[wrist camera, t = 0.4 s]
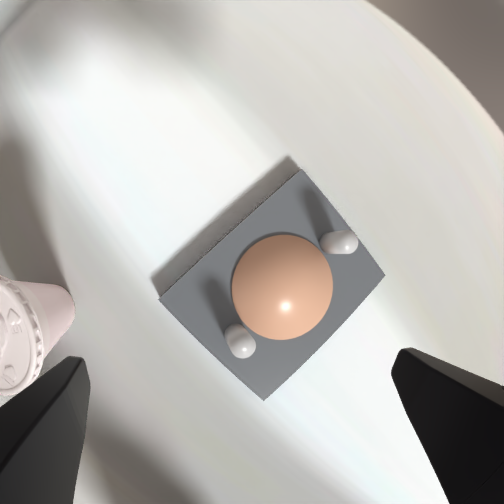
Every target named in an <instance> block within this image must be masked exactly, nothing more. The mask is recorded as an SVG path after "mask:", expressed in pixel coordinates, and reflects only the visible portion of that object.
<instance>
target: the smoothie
mask: <svg viewBox="0 0 504 504" xmlns="http://www.w3.org/2000/svg"><path fill="white" fill-rule="evenodd" d="M74 317H75V305H74V302H73V299H72V297H71V295H70V294H69V293H68V292H67V291H66V290H65V289H64V288H63V287H61V286H59V285H55V284H43V283H32V282H22V281H13V280H10V279H9V278H7V277H4V276H2V275H0V395H14V394H17V393H19V392H21V391H22V390H23V389H25V388H26V387H28V386H29V385H30V384H32V383H33V382H34V381H35V379H36V378H37V377H38V375H39V373H40V370H41V367H42V365H43V360H44V358H45V357H46V356H47V354H48V353H49V352H50V351H51V349H52V348H53V347H54V345H55V344H56V343H57V342H58V340H59V339H60V338H61V337H62V336H63V334H64V333H65V332H66V331H67V329H68V328H69V327H70V326H71V324H72V323H73V321H74Z"/></svg>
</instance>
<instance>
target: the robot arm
mask: <svg viewBox="0 0 504 504" xmlns="http://www.w3.org/2000/svg"><path fill="white" fill-rule="evenodd" d="M391 376H392V379H393V381H394V384H395V386H396V389H397V391H398V394H399V396H400V399H401V401H402V404H403V406H404V409H405V411H406V414H407V416H408V418H409V420H410V422H411V424H412V426H413V428H414V430H415V432H416V434H417V436H418V438H419V440H420V442H421V444H422V446H423V448H424V450H425V452H426V454H427V456H428V458H429V460H430V462H431V465H432V467H433V469H434V471H435V473H436V475H437V477H438V479H439V482H440V484H441V486H442V488H443V490H444V493H445V495H446V497H447V499H448V502H449V504H504V386H501V385H500V384H497V383H495V382H492V381H490V380H487V379H485V378H483V377H480V376H478V375H475V374H473V373H471V372H468V371H466V370H464V369H461V368H459V367H456V366H454V365H452V364H449V363H447V362H445V361H442V360H440V359H438V358H435V357H433V356H431V355H428V354H426V353H424V352H421V351H419V350H417V349H415V348H404V349H401V350H400V351H399V353H398V355H397V357H396V360H395V362H394V365H393V367H392V370H391ZM89 395H90V380H89V376H88V372H87V368H86V364H85V361H84V359H83V358H82V357H75V356H68V357H67V358H65V359H64V360H63V361H61V362H60V363H58V364H57V365H56V366H54V367H53V368H52V369H50V370H49V371H48V372H46V373H45V374H44V375H42V376H41V377H40V378H38V379H37V380H36V381H34V382H33V383H32V384H30V385H29V386H28V387H26V388H25V389H24V390H22V391H21V392H20V393H18V394H17V395H16V396H14V397H13V398H12V399H10V400H9V401H8V402H6V403H5V404H4V405H2V406H1V407H0V504H73V499H74V492H75V486H76V480H77V474H78V469H79V463H80V458H81V453H82V448H83V444H84V438H85V430H86V420H87V411H88V403H89Z"/></svg>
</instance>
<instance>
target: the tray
mask: <svg viewBox="0 0 504 504" xmlns="http://www.w3.org/2000/svg"><path fill="white" fill-rule="evenodd" d="M384 276H385V274H384V273H383V271H382V270H381V268H380V267H379V266H378V264H377V263H376V262H375V260H374V259H373V257H372V256H371V255H370V253H369V252H368V251H367V249H366V248H365V247H364V245H363V244H362V243H361V241H360V240H359V239H358V237H357V235H356V234H355V233H354V232H353V231H352V230H351V228H350V227H349V226H348V225H347V223H346V222H345V221H344V219H343V218H342V217H341V216H340V214H339V213H338V212H337V211H336V209H335V208H334V207H333V206H332V204H331V203H330V202H329V201H328V200H327V198H326V197H325V196H324V195H323V193H322V192H321V191H320V190H319V189H318V187H317V186H316V185H315V184H314V183H313V181H312V180H311V179H310V178H309V177H308V176H307V174H306V173H305V172H304V171H303V170H302V169H301V170H300V171H298V172H297V173H296V174H294V175H293V176H292V177H291V178H290V179H289V180H288V181H286V182H285V183H284V184H283V185H282V186H281V187H280V188H279V189H277V190H276V191H275V192H274V193H273V194H272V195H271V196H270V197H268V198H267V199H266V200H265V201H264V202H263V203H262V204H261V205H259V206H258V207H257V208H256V209H255V210H254V211H253V212H252V213H250V214H249V215H248V216H247V217H246V218H245V219H244V220H243V221H242V222H240V223H239V224H238V225H237V226H236V227H235V228H234V229H233V230H232V231H231V232H229V233H228V234H227V235H226V236H225V237H224V238H223V239H222V240H221V241H220V242H219V243H217V244H216V245H215V246H214V247H213V248H212V249H211V250H210V251H209V252H208V253H207V254H205V255H204V256H203V257H202V258H201V259H200V260H199V261H198V262H197V263H196V264H195V265H194V266H193V267H191V268H190V269H189V270H188V271H187V272H186V273H185V274H184V275H183V276H182V277H181V278H180V279H179V280H178V281H176V282H175V283H174V284H173V285H172V286H171V287H170V288H169V289H168V290H167V291H166V292H165V293H164V294H163V295H162V296H161V297H160V298H159V299H158V300H159V301H160V302H161V303H162V304H163V305H164V306H165V307H166V308H167V309H168V311H169V312H170V313H171V314H172V315H173V316H174V317H175V318H176V319H177V320H178V321H179V322H180V323H181V324H182V325H183V326H184V327H185V328H186V329H187V330H188V331H189V332H190V333H191V334H192V335H193V336H194V337H195V338H196V339H197V340H198V341H199V342H200V343H201V344H202V345H203V346H204V347H205V348H206V349H207V350H208V351H209V352H210V353H211V354H213V355H214V356H215V357H216V358H217V359H218V360H219V361H220V362H221V363H222V364H223V365H224V366H225V367H226V368H227V369H229V370H230V371H231V372H232V373H233V374H234V375H235V376H236V377H237V378H238V379H239V380H241V381H242V382H243V383H244V384H245V385H246V386H247V387H248V388H250V389H251V390H252V391H253V392H254V393H255V394H256V395H258V396H259V397H260V398H261V399H262V400H263V401H264V400H265V399H266V398H268V397H269V396H270V395H271V394H272V393H273V392H274V391H275V390H276V389H277V388H279V387H280V386H281V385H282V384H283V383H284V382H285V381H286V380H287V379H288V378H289V377H290V376H291V375H292V374H293V373H295V372H296V371H297V370H298V369H299V368H300V367H301V366H302V365H303V364H304V363H305V362H306V361H307V360H308V359H309V358H310V357H311V356H312V355H313V354H314V353H315V352H316V351H317V350H318V349H319V348H320V347H321V346H322V345H323V344H324V343H325V342H326V341H327V340H328V339H329V338H330V337H331V336H332V334H333V333H334V332H335V331H336V330H337V329H338V328H339V327H340V326H341V325H342V324H343V323H344V322H345V321H346V320H347V318H348V317H349V316H350V315H351V314H352V313H353V312H354V311H355V310H356V309H357V307H358V306H359V305H360V304H361V303H362V302H363V301H364V300H365V298H366V297H367V296H368V295H369V294H370V293H371V292H372V290H373V289H374V288H375V287H376V286H377V285H378V283H379V282H380V281H381V280H382V279H383V278H384Z"/></svg>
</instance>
